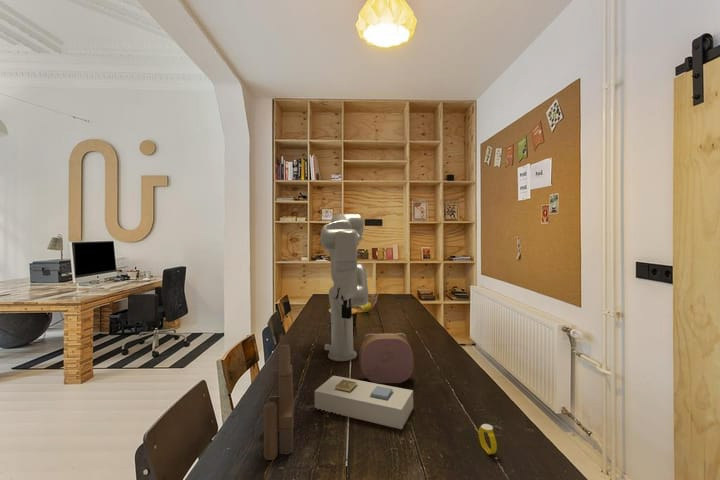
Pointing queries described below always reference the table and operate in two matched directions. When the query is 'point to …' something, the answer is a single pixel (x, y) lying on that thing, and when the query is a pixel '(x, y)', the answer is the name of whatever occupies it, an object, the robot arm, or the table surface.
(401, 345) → the face sculpture
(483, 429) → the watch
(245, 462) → the table surface
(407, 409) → the button console
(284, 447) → the wooden toy
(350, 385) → the brass button
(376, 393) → the slate-blue button
